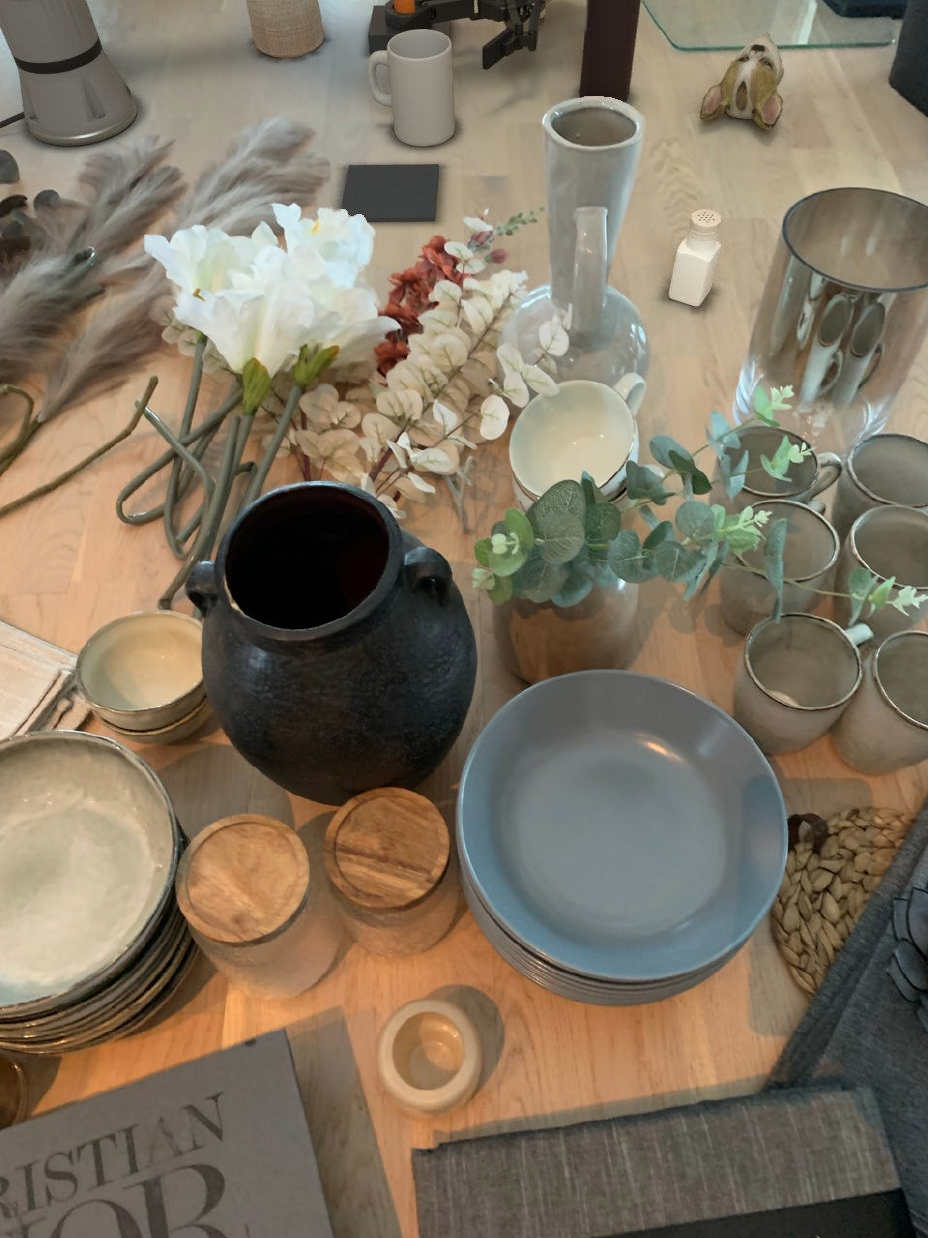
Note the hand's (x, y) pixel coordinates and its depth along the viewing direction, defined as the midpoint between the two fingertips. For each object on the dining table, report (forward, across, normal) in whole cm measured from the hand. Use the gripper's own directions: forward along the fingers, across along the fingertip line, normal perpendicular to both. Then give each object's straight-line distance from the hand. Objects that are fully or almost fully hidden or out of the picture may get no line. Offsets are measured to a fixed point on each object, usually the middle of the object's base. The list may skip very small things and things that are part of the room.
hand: (442, 46), depth 117 cm
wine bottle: (-13, -19, -8) cm, 24 cm away
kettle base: (-14, +16, -8) cm, 23 cm away
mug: (+8, 0, -8) cm, 11 cm away
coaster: (+22, -7, -7) cm, 25 cm away
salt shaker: (+21, -48, -8) cm, 53 cm away
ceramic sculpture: (-19, -38, -8) cm, 43 cm away
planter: (-3, +32, -8) cm, 33 cm away
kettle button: (-14, +16, -3) cm, 22 cm away
